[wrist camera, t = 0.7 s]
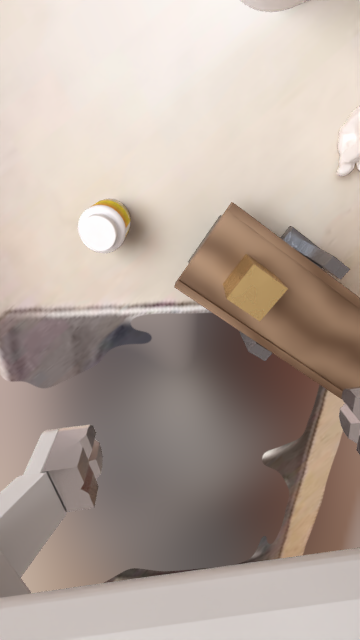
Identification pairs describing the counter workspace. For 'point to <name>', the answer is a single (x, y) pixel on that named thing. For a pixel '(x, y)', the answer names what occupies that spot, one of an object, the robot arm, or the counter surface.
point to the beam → (281, 301)
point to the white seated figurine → (349, 144)
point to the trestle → (309, 252)
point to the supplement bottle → (104, 225)
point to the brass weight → (253, 288)
